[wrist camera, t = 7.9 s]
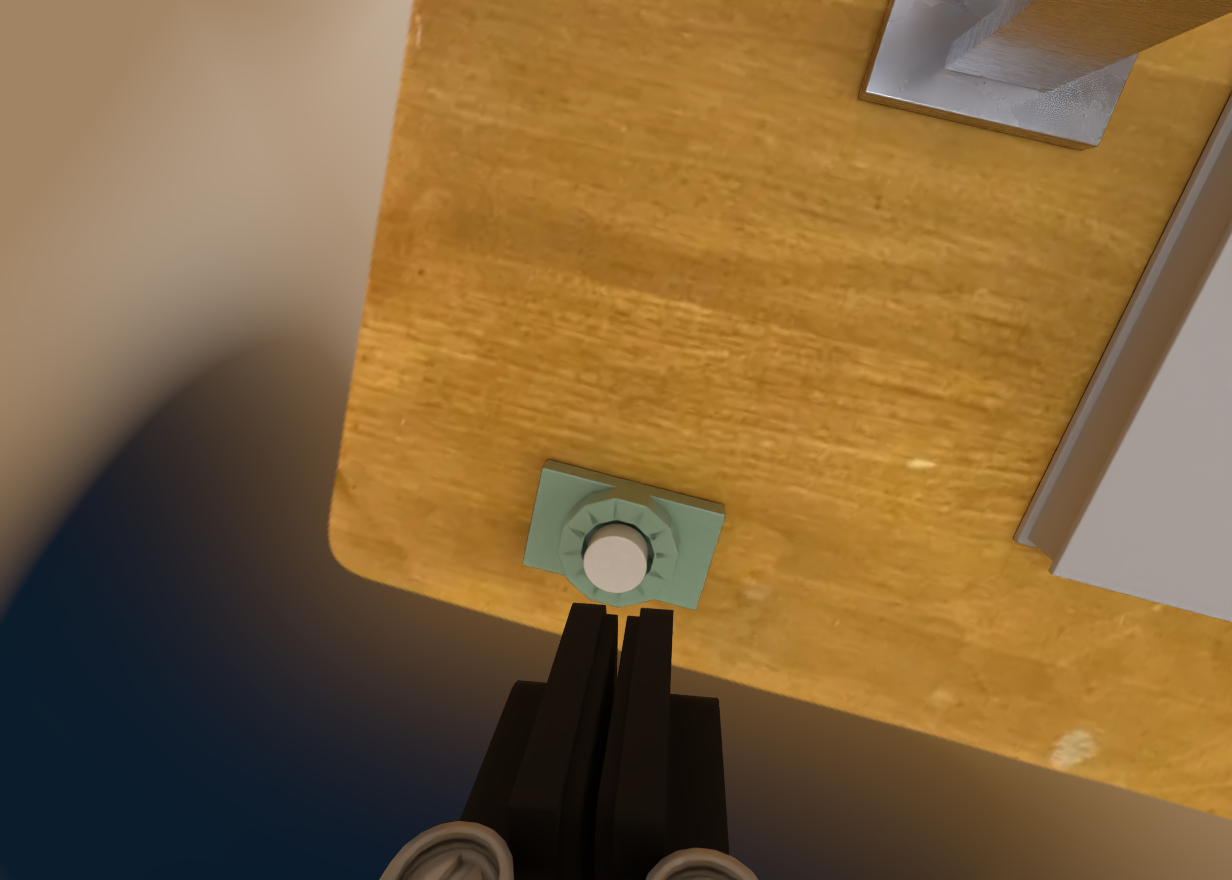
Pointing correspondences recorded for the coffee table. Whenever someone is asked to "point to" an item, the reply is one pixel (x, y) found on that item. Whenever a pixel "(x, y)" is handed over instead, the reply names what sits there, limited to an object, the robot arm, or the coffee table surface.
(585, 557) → the beige push button
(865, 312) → the coffee table surface
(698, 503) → the green push button base
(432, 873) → the robot arm
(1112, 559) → the book
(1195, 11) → the lever stand
